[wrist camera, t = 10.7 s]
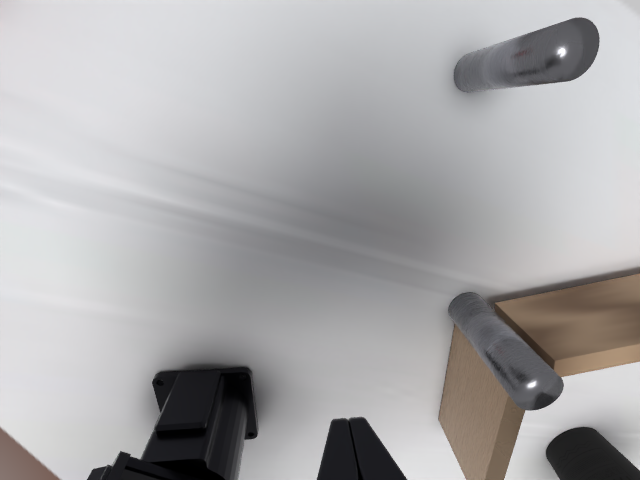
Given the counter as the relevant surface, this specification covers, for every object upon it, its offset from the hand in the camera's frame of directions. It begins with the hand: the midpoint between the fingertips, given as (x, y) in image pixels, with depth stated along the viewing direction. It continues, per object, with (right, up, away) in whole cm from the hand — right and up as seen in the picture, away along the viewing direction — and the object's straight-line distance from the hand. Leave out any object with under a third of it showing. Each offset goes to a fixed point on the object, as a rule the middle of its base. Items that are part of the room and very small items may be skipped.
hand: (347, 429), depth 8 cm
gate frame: (+8, +2, +13) cm, 15 cm away
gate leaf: (+17, +1, +13) cm, 21 cm away
